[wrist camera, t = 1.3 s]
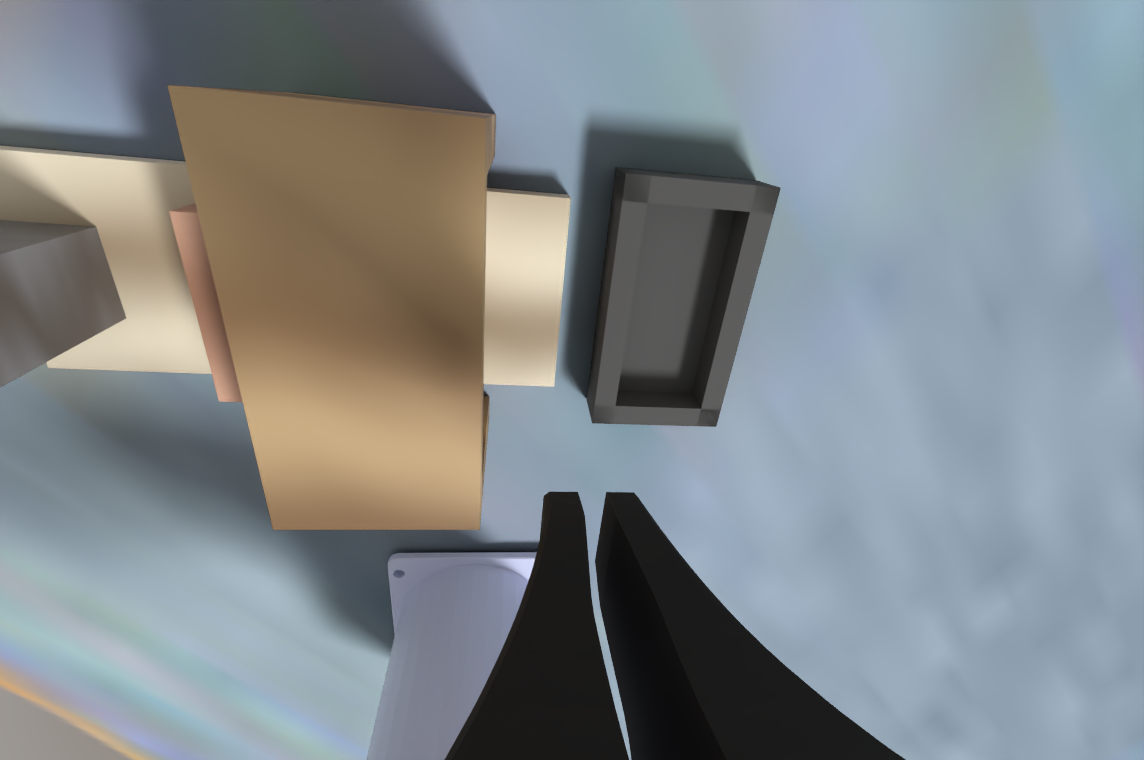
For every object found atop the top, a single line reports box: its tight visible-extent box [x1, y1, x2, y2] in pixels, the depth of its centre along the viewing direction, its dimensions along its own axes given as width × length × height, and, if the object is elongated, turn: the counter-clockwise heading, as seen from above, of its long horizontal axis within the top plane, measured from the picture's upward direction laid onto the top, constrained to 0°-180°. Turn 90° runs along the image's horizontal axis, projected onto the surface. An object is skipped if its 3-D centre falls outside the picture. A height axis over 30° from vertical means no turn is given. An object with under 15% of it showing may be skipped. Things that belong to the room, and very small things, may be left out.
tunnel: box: [167, 85, 496, 530], centre depth 15 cm, size 11×6×6 cm, turn 175°
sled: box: [0, 146, 571, 402], centre depth 15 cm, size 7×18×7 cm, turn 85°
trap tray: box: [587, 167, 780, 427], centre depth 19 cm, size 9×5×2 cm, turn 175°
